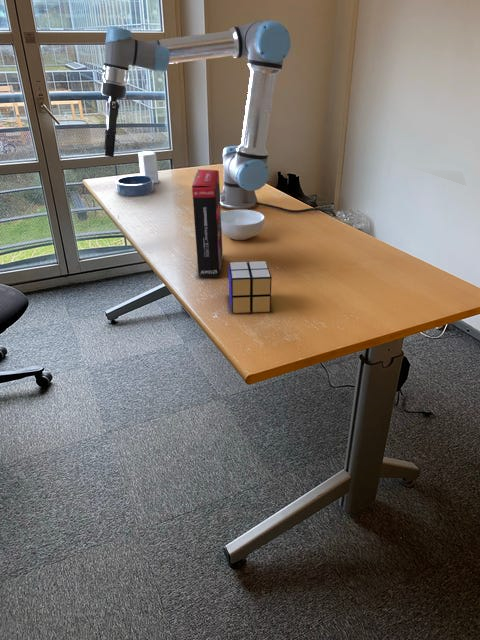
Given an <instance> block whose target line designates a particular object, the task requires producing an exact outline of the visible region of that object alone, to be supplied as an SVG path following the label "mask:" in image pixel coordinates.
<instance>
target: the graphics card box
mask: <svg viewBox="0 0 480 640" xmlns="http://www.w3.org/2000/svg"><path fill="white" fill-rule="evenodd" d="M220 186H221V185H220V172H219V170H218V169H197V172H196V174H195V177H194V179H193V182H192V185H191V193H192V205H193V221H194V233H195V234H194V235H195V247H196V260H197V261H196V262H197V274H198V278H203V279H204V278H220V277H221V271H222V261H223V255H224V254H223V234H222V229H221V212H222V209H221V208H222V207H221V206H220V197H221V196H220V193H221V187H220Z"/></svg>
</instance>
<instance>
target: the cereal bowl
mask: <svg viewBox="0 0 480 640" xmlns="http://www.w3.org/2000/svg"><path fill="white" fill-rule="evenodd" d="M265 219H266V217H265V215H264V214H263V213H261V212H259V211H257V210H252V209H248V210H229V209H228V210H225V211H224V210H223V211H221V229H222V236H224V237H228V238H229V239H231V240H234V241H244V240H245V241H246V240H249V239H250V238H253V237H255V236H257V235H258V234H260V233H261V232H262V231H263V229H264V227H265V223H266V221H265Z"/></svg>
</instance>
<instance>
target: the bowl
mask: <svg viewBox="0 0 480 640" xmlns="http://www.w3.org/2000/svg"><path fill="white" fill-rule="evenodd" d="M154 184H155V183H154ZM154 184H153V179H152V178H151V177H149V176H142V175H140V174H139V175H137V174H136V175H135V174H134V175H126V176H121V177H119V178H117V179H116V180H115V185H116V192H117V194H119V195H121V196H124V197H141V196H147V195H149V194H152V192H153V191H154V190H155V186H154Z"/></svg>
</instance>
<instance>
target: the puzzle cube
mask: <svg viewBox="0 0 480 640" xmlns="http://www.w3.org/2000/svg"><path fill="white" fill-rule="evenodd" d="M272 281H273V280H272V275H271V272H270V268H269V265H268V262H267V261H266V260H265V261H263V260H262V261H261V260H260V261H259V260H258V261H248V262H247V261H235V262H234V261H233V262H229V263H228V297H229V303H230V310H231V314H233V315H234V314H250V313H252V314H254V313H256V314H257V313H270V312H271V311H272V295H271V294H272Z"/></svg>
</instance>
